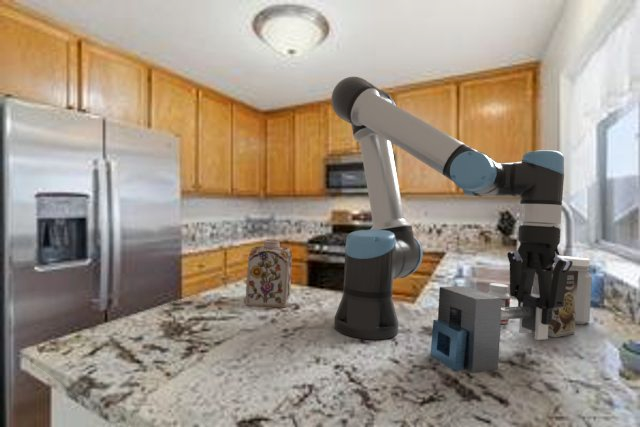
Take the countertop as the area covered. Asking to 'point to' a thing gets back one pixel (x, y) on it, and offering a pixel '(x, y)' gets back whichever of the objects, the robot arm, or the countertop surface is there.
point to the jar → (582, 288)
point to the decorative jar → (269, 275)
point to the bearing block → (473, 324)
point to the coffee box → (567, 314)
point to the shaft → (522, 311)
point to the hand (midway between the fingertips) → (532, 335)
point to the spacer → (456, 345)
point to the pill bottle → (501, 295)
